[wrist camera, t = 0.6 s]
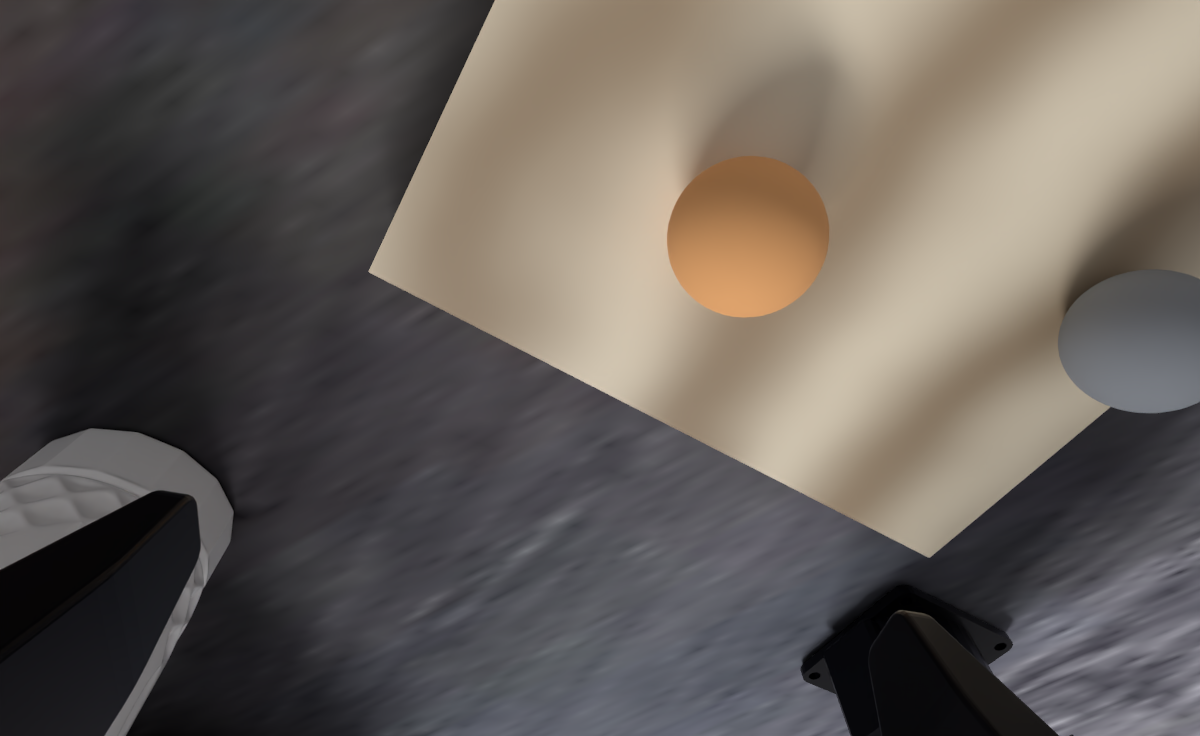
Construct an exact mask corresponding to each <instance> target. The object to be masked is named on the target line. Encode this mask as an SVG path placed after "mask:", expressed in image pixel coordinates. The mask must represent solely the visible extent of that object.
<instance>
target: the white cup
mask: <svg viewBox="0 0 1200 736" xmlns="http://www.w3.org/2000/svg"><path fill="white" fill-rule="evenodd" d="M157 490H164V491H170V492H176V493H182V494H188V495H191V496H193V497H194V498H195V500H196V502H197V508H198V518H199V529H200V539H201V549H200V554H199V558H198V561H197V563H196V566H195V568H194V570H193V572H192V574H191V576H190V578H189V580H188V582H187V584H186V586H185V588H184V590H183V592H182V594H181V596H180V598H179V600H178V602H177V604H176V606H175V608H174V610H173V612H172V614H171V616H170V618H169V620H168V622H167V624H166V626H165V628H164V630H163V632H162V634H161V636H160V638H159V640H158V642H157V644H156V646H155V648H154V650H153V653H152V655H151V657H150V659H149V661H148V663H147V665H146V667H145V669H144V670H143V672H142V674H141V676H140V678H139V680H138V682H137V684H136V686H135V687H134V689H133V691H132V692H131V694H130V696H129V697H128V699H127V701H126V703H125V704H124V706H123V708H122V709H121V711H120V712H119V714H118V715H117V717H116V719H115V720H114V722H113V723H112V725H111V727H110V728H109V730H108V731H107V733H106V734H105V736H126V735H127V733H128V731H129V730H130V728H131V726H132V724H133V723H134V721H135V719H136V717H137V715H138V714H139V712H140V710H141V708H142V707H143V705H144V703H145V701H146V699H147V698H148V696H149V694H150V692H151V690H152V689H153V687H154V685H155V683H156V682H157V680H158V678H159V676H160V674H161V673H162V671H163V669H164V667H165V665H166V664H167V662H168V660H169V657H170V655H171V653H172V651H173V649H174V647H175V644H176V642H177V640H178V639H179V637H180V636H181V634H182V632H183V631H184V629H185V627H186V626H187V624H188V622H189V620H190V619H191V616H192V614H193V612H194V610H195V608H196V605H197V603H198V601H199V598H200V595H201V593H202V590H203V588H204V587H205V585H206V583H207V582H208V580H209V578H210V576H211V575H212V573H213V571H214V570H215V568H216V566H217V564H218V563H219V561H220V559H221V557H222V556H223V554H224V552H225V551H226V549H227V547H228V545H229V543H230V541H231V533H232V524H233V515H234V511H233V509H232V507H231V505H230V503H229V501H228V499H227V497H226V495H225V493H224V491H223V489H222V487H221V485H220V483H219V482H218V480H217V479H216V478H215V477H214V476H213V475H212V474H210V473H209V472H208V471H207V470H206V469H205V468H203V467H202V466H201V465H200V464H199V463H197V462H196V461H195V460H194V459H193V458H191V457H190V456H189V455H188V454H187V453H185V452H184V451H182V450H180V449H178V448H175V447H173V446H171V445H168V444H166V443H163V442H161V441H159V440H156V439H154V438H151V437H149V436H146V435H144V434H141V433H139V432H130V431H119V430H107V429H96V428H90V429H87V430H84V431H81V432H78V433H74V434H71V435H68V436H65V437H62V438H59V439H56V440H53V441H51V442H50V443H48V444H47V445H46V446H44V447H43V448H42V449H41V450H39V451H38V452H37V453H35V454H34V455H33V456H32V457H30V458H29V459H28V460H27V461H25V462H24V463H23V464H22V465H20V466H19V467H18V468H16V469H15V470H14V471H13V472H11V473H10V474H9V475H8V476H7V477H5V478H4V479H3V480H2V481H0V569H2V568H4V567H6V566H8V565H10V564H12V563H14V562H16V561H18V560H20V559H22V558H24V557H26V556H28V555H30V554H32V553H34V552H35V551H37V550H39V549H41V548H43V547H45V546H47V545H49V544H51V543H53V542H55V541H57V540H59V539H61V538H63V537H65V536H67V535H69V534H70V533H72V532H74V531H76V530H78V529H80V528H82V527H84V526H86V525H88V524H90V523H92V522H94V521H96V520H98V519H100V518H102V517H103V516H105V515H107V514H109V513H111V512H113V511H115V510H117V509H119V508H121V507H123V506H125V505H127V504H129V503H131V502H133V501H135V500H137V499H138V498H140V497H142V496H144V495H146V494H148V493H151V492H153V491H157Z"/></svg>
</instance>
